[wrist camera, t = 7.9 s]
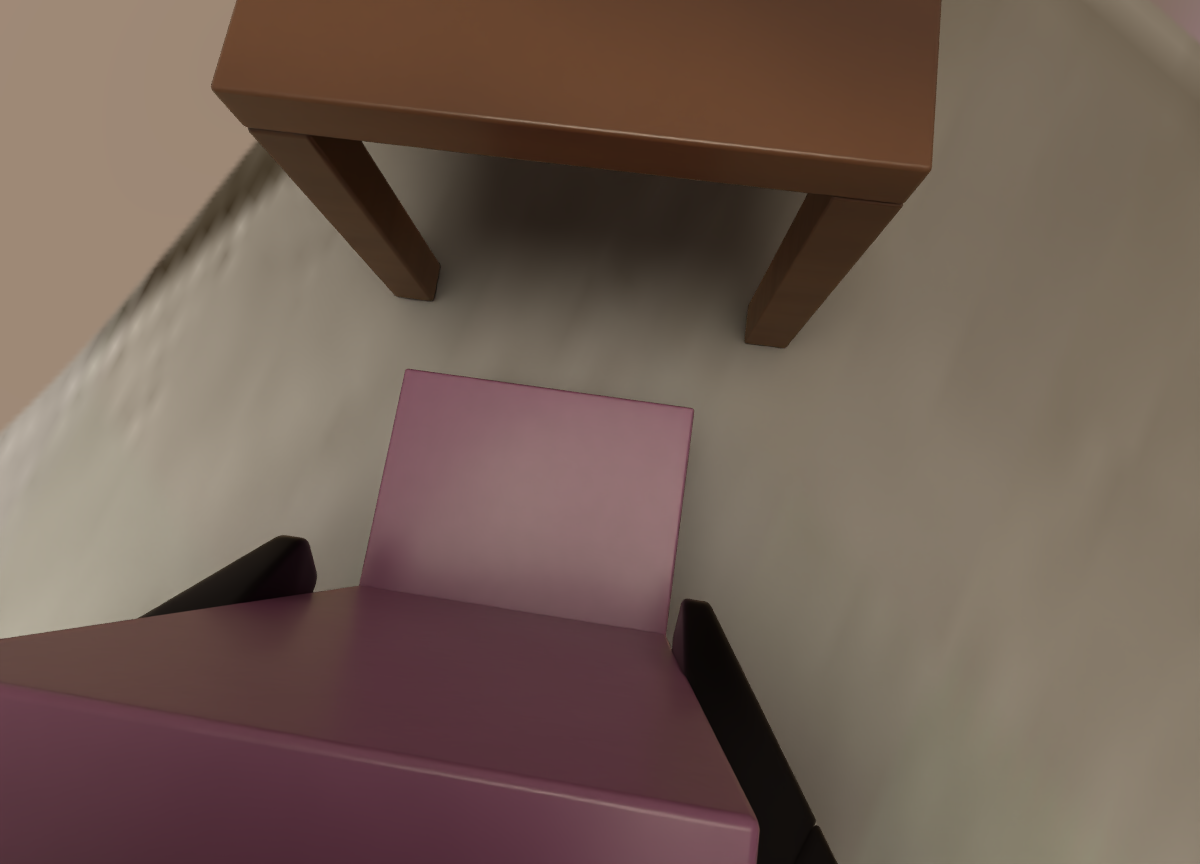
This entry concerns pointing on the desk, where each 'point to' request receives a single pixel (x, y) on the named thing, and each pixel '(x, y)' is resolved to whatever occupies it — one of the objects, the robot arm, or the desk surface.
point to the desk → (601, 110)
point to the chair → (406, 675)
